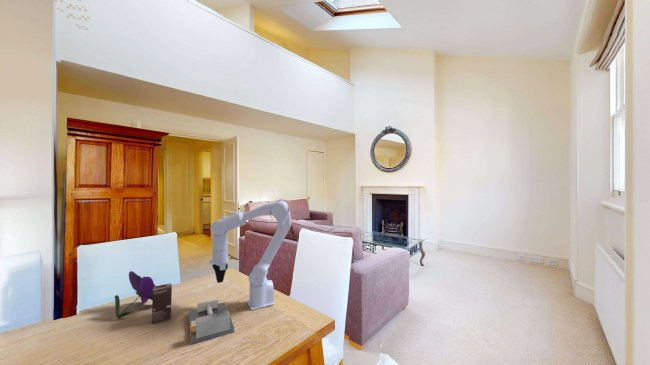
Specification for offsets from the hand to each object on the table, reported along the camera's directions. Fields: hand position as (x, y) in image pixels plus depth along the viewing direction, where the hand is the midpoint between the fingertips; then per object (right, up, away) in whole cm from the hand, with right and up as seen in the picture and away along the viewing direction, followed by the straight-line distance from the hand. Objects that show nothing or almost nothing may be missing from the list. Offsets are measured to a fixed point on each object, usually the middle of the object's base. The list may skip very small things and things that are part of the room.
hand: (220, 281), depth 104 cm
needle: (+2, -8, -18) cm, 20 cm away
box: (-17, -10, -11) cm, 22 cm away
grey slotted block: (0, -8, -10) cm, 12 cm away
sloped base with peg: (+2, -10, -13) cm, 16 cm away
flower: (-30, -9, -6) cm, 32 cm away
